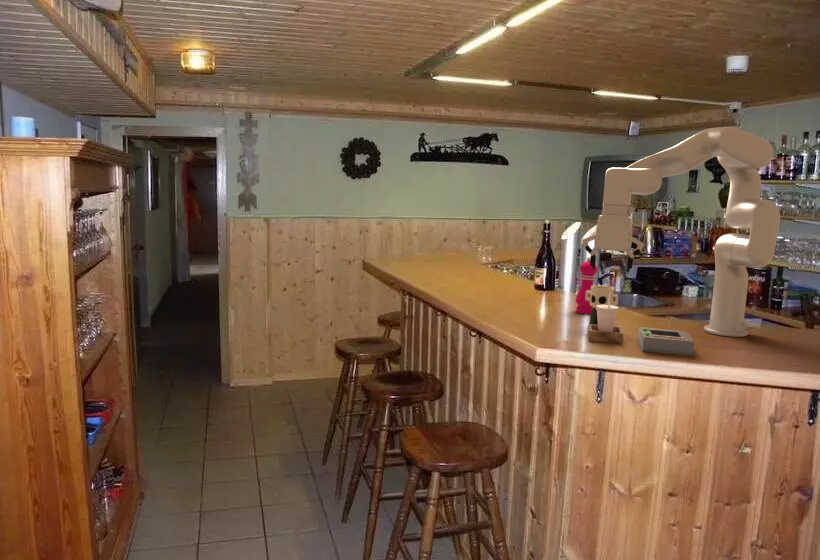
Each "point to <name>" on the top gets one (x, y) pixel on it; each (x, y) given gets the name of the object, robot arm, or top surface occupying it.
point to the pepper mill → (585, 287)
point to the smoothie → (606, 316)
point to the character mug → (600, 299)
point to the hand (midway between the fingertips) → (610, 270)
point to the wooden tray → (605, 334)
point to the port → (665, 341)
